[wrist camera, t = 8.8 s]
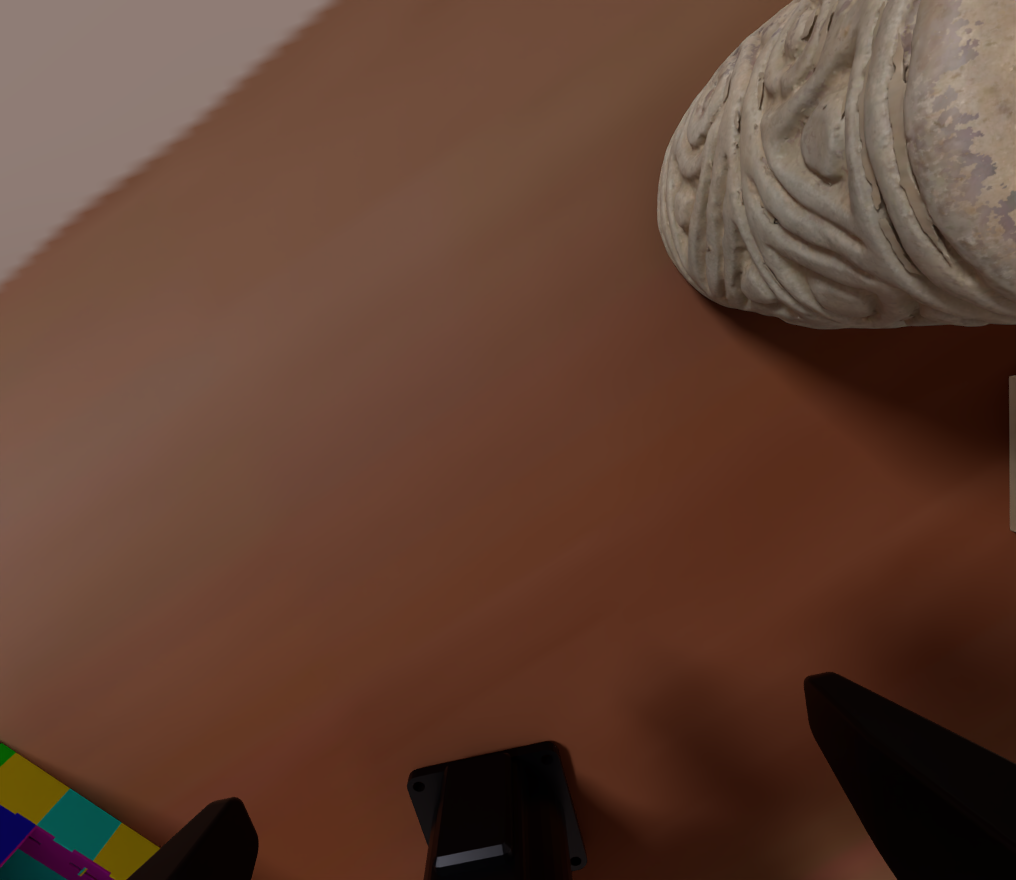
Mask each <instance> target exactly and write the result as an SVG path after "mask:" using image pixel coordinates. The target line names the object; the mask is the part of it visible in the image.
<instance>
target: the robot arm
mask: <svg viewBox="0 0 1016 880" xmlns="http://www.w3.org/2000/svg"><path fill="white" fill-rule="evenodd" d="M804 691H805V698H806V706H807V713H808V720H809V725H810V728H811V731H812V733H813V736H814V738H815V740H816V742H817V743H818V745H819V747H820V749H821V751H822V752H823V754H824V756H825V758H826V759H827V761H828V763H829V765H830V767H831V768H832V770H833V772H834V774H835V776H836V777H837V779H838V781H839V783H840V784H841V786H842V788H843V790H844V792H845V793H846V795H847V797H848V799H849V801H850V802H851V804H852V806H853V808H854V809H855V811H856V813H857V815H858V817H859V818H860V820H861V822H862V824H863V825H864V827H865V829H866V831H867V833H868V834H869V836H870V838H871V839H872V841H873V843H874V844H875V846H876V848H877V850H878V851H879V853H880V854H881V856H882V857H883V859H884V860H885V862H886V863H887V865H888V866H889V868H890V869H891V871H892V872H893V874H894V875H895V877H896V878H897V880H1016V764H1015V763H1013V762H1011V761H1010V760H1008V759H1006V758H1004V757H1002V756H1000V755H998V754H996V753H994V752H992V751H990V750H988V749H986V748H984V747H982V746H980V745H978V744H976V743H974V742H972V741H970V740H968V739H966V738H964V737H962V736H960V735H958V734H956V733H954V732H952V731H950V730H948V729H946V728H944V727H942V726H940V725H938V724H936V723H934V722H932V721H930V720H928V719H926V718H924V717H922V716H920V715H918V714H916V713H914V712H912V711H910V710H908V709H906V708H904V707H902V706H900V705H898V704H896V703H894V702H892V701H890V700H888V699H886V698H884V697H882V696H880V695H878V694H876V693H874V692H872V691H870V690H868V689H866V688H864V687H862V686H860V685H858V684H856V683H855V682H853V681H851V680H849V679H847V678H845V677H843V676H841V675H839V674H836V673H833V672H825V673H821V674H816V675H811V676H808V677H806V678H805V680H804ZM544 755H550V756H549V757H544ZM417 782H422V783H417ZM407 789H408V792H409V795H410V797H411V800H412V803H413V806H414V808H415V811H416V814H417V817H418V820H419V822H420V825H421V828H422V831H423V833H424V836H425V839H426V842H427V844H428V853H427V860H426V867H425V873H424V880H572V871H576V870H579V869H582V868H583V867H585V865H586V863H587V857H586V850H585V846H584V843H583V839H582V835H581V832H580V828H579V824H578V821H577V817H576V813H575V810H574V806H573V803H572V799H571V795H570V792H569V788H568V784H567V781H566V777H565V773H564V770H563V766H562V762H561V759H560V755H559V751H558V749H557V747H556V746H555V745H554V744H553V743H549V742H543V743H538V744H534V745H529V746H524V747H520V748H515V749H510V750H505V751H501V752H496V753H491V754H487V755H482V756H477V757H472V758H468V759H463V760H458V761H454V762H449V763H444V764H439V765H435V766H430V767H425V768H421V769H416V770H414V771H412V772H411V773H410V775H409V779H408V783H407ZM257 854H258V835H257V833H256V830H255V828H254V826H253V824H252V821H251V819H250V817H249V815H248V813H247V810H246V808H245V806H244V804H243V802H242V800H240V799H239V798H237V797H232V798H227V799H222V800H217V801H214V802H212V803H210V804H209V805H207V806H206V807H205V808H204V809H203V810H202V811H201V812H200V813H199V814H198V815H196V816H195V817H194V818H193V819H192V820H191V821H190V822H189V823H188V824H187V825H185V826H184V827H183V828H182V829H181V830H180V831H179V832H178V833H177V834H176V835H175V836H173V837H172V838H171V839H170V840H169V841H168V842H167V843H166V844H165V845H164V846H163V847H161V848H160V849H159V850H158V851H157V852H156V853H155V854H154V855H153V856H152V857H150V858H149V859H148V860H147V861H146V862H145V863H144V864H143V865H142V866H141V867H140V868H138V869H137V870H136V871H135V872H134V873H133V874H132V875H131V876H130V877H129V878H127V879H126V880H251V878H252V874H253V870H254V866H255V862H256V858H257Z"/></svg>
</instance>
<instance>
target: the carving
mask: <svg viewBox="0 0 1016 880" xmlns="http://www.w3.org/2000/svg"><path fill="white" fill-rule="evenodd" d="M657 202H658V206H657V221H658V228H659V231H660V234H661V237H662V240H663V243H664V245H665V248H666V251H667V253H668V255H669V257H670V258H671V260H672V262H673V263H674V265H675V266H676V267H677V269H678V270H679V272H680V273H681V274H682V275H683V276H684V278H685V279H686V280H687V281H688V282H689V283H690V284H691V285H692V286H693V287H694V288H695V289H696V290H698V291H699V292H700V293H701V294H702V295H704V296H705V297H707V298H708V299H710V300H712V301H714V302H716V303H718V304H720V305H722V306H725V307H729V308H736V309H740V310H744V311H751V312H756V313H759V314H762V315H766V316H775V317H778V318H780V319H781V320H783V321H785V322H786V323H789V324H793V325H799V326H803V327H809V328H814V329H842V328H861V329H862V328H870V329H878V328H898V327H906V326H930V325H948V324H951V325H959V326H967V327H971V326H983V325H987V324H990V323H991V324H1002V325H1013V324H1016V0H793V1H792V2H791V3H790V4H788V5H787V6H785V7H784V8H783V9H781V10H780V11H779V12H778V13H777V14H775V15H774V16H773V17H772V18H771V19H769V20H768V21H767V22H766V23H764V24H763V25H762V26H761V27H760V28H759V29H758V30H756V31H755V32H754V33H752V34H751V35H750V36H748V37H747V38H746V39H745V40H744V41H743V42H742V43H741V44H740V46H739V47H738V48H737V49H736V50H735V51H734V52H733V53H732V54H731V55H730V56H729V57H728V58H727V59H726V60H725V61H724V62H723V63H722V65H721V66H720V67H719V68H718V70H717V71H716V72H715V73H714V75H713V76H712V78H711V79H710V81H709V82H708V83H707V85H706V86H705V87H704V88H703V90H702V91H701V92H700V93H699V94H698V96H697V97H696V98H695V99H694V101H693V102H692V104H691V106H690V107H689V109H688V110H687V112H686V113H685V115H684V116H683V118H682V120H681V122H680V123H679V125H678V127H677V129H676V130H675V132H674V134H673V136H672V138H671V140H670V143H669V145H668V147H667V150H666V153H665V157H664V161H663V165H662V168H661V173H660V179H659V185H658V198H657Z"/></svg>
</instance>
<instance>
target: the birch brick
mask: <svg viewBox="0 0 1016 880" xmlns="http://www.w3.org/2000/svg"><path fill="white" fill-rule="evenodd" d="M1009 449H1010V530H1012V531H1014V532H1016V375H1014V376H1010V377H1009Z"/></svg>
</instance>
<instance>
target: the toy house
mask: <svg viewBox="0 0 1016 880" xmlns="http://www.w3.org/2000/svg"><path fill="white" fill-rule="evenodd" d="M159 849H160V848H159V847H158V846H156V845H155V844H153V843H152V842H150V841H149V840H147V839H146V838H144V837H143V836H141V835H140V834H138V833H137V832H135V831H134V830H132V829H131V828H129V827H128V826H126V825H125V824H123V823H122V822H120V821H119V820H117V819H116V818H114V817H113V816H111V815H110V814H108V813H106V812H105V811H103V810H102V809H100V808H99V807H97V806H96V805H94V804H93V803H91V802H90V801H88V800H87V799H85V798H84V797H82V796H81V795H79V794H78V793H76V792H75V791H73V790H72V789H70V788H69V787H67V786H66V785H64V784H63V783H61V782H60V781H58V780H57V779H55V778H54V777H52V776H51V775H49V774H48V773H46V772H45V771H43V770H42V769H40V768H39V767H37V766H36V765H34V764H33V763H31V762H30V761H28V760H27V759H25V758H24V757H22V756H21V755H19V754H17V753H16V752H14V751H13V750H11V749H10V748H8V747H7V746H5V745H4V744H2V743H1V744H0V880H126V879H127V878H129V877H130V876H131V875H132V874H133V873H134V872H135V871H136V870H137V869H138V868H140V867H141V866H142V865H143V864H144V863H145V862H146V861H147V860H148V859H149V858H150V857H152V856H153V855H154V854H155V853H156V852H157V851H158V850H159Z"/></svg>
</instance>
